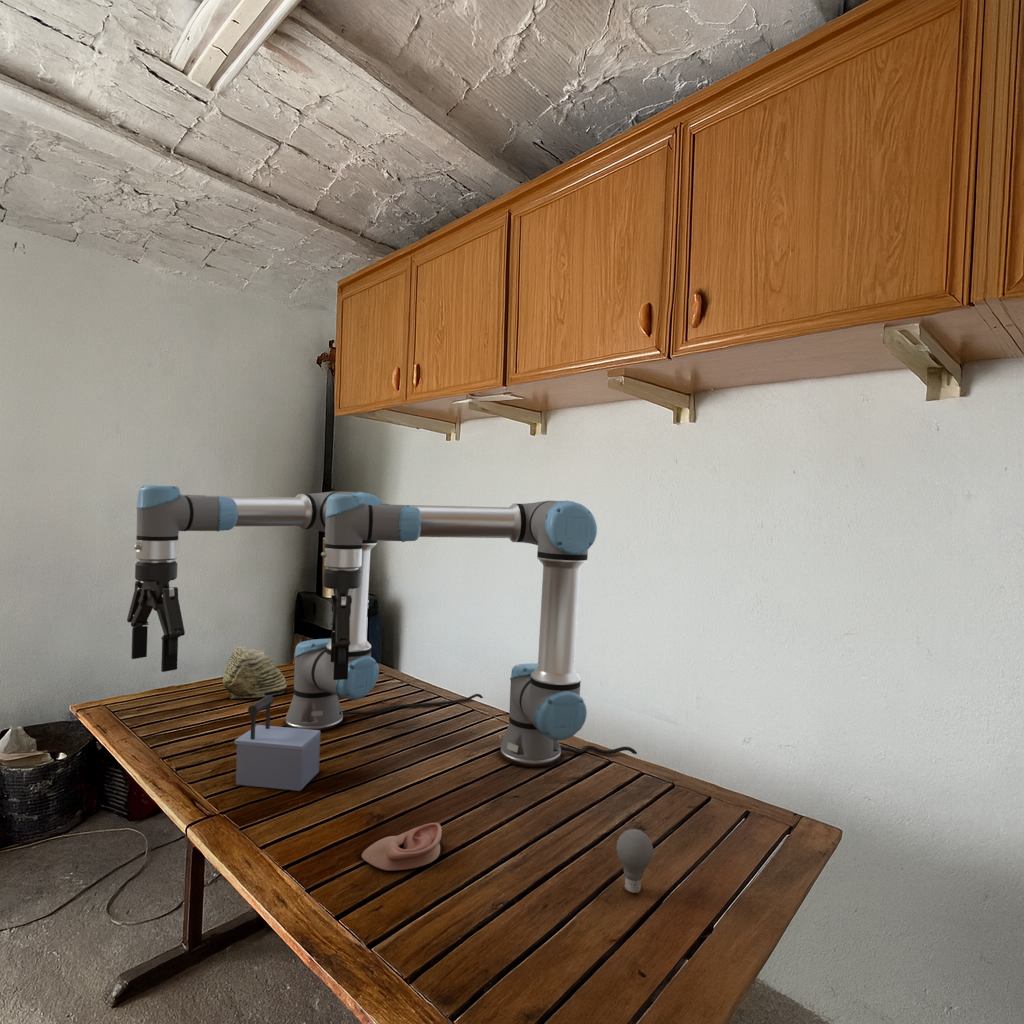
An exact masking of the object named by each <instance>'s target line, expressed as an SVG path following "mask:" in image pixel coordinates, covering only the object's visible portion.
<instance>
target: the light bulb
mask: <svg viewBox="0 0 1024 1024" xmlns="http://www.w3.org/2000/svg"><path fill="white" fill-rule="evenodd" d="M615 849H616V854H617V857H618V859H619V861H620V863H621V865H622V867H623V873H624V874H623V875H624V876H625V878H624V888H625V890H627V891H628V892H630V893H634V894H635V893H639V892H640V891H641V889H642V887H641V886H642V879H643V877H644V875H645V871H646V868H647V867H648V866H649V864H650V863H651V861H652V859H653V855H654V847H653V843H652V841H651V838H649V836H648V835H647V834H646V833H645V832H643V831H642V830H641V829H636V828H629V829H627V830H625V831H623V832H622V833H621V834H620V835H619V837H618V839H617V841H616V847H615Z"/></svg>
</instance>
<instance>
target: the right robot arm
mask: <svg viewBox="0 0 1024 1024" xmlns="http://www.w3.org/2000/svg"><path fill="white" fill-rule="evenodd" d="M597 535H598V526H597V520H596V519H595V516H594V514H593V512H592V511H590V509H589V508H588V507H586V506H585V505H584V504H581V503H579V502H576V501H572V500H544V501H543V500H542V501H537V502H527V503H526V502H525V503H512V504H511V505H510V506H507V507H506V506H505V507H504V506H465V505H463V506H460V505H426V504H425V505H421V504H420V505H419V504H389V503H383V504H380V505H368V504H365V502H364V498H363V496H361V495H343V494H332V495H330V496H329V497H328V499H327V507H326V519H325V532H324V551H322V552H321V553H320V556H321V557H323V558H324V559H323V560H324V561H323V562H324V563H323V565H324V567H326V568H325V569H324V570H323V577H322V578H323V581H322V585H323V587H324V588H325V589H329V590H333V591H332V592H333V594H332V595H331V597H330V603H331V612H332V614H331V615H332V616H331V623H330V625H331V637H330V639H331V662H334V676H333V680H345V679H348V658H349V645H350V614H351V604H352V597H351V595H348V590H349V589H355V588H358V587H360V585H361V571H360V570H359V569H358V568H359V567H361V566H362V540H377V541H382V542H386V541H387V542H401V543H405V542H416V541H418V539H419V538H457V539H458V538H461V539H463V538H469V539H471V538H472V539H509V541H511V542H512V543H523V544H531V545H535V546H537V555H536V557H537V560H539V562H540V563H541V564H542V583H541V584H542V585H541V599H540V601H541V602H540V617H539V618H540V619H539V620H540V622H539V637H538V638H539V639H538V656H537V657H538V658H537V663H536V662H535V663H533V662H531V663H519V664H515V665H514V666H513V667H512V668H511V675H510V678H509V679H510V689H509V712H508V713H509V715H508V725H507V728H506V730H505V733H504V736H503V738H502V741H501V745H500V752H499V753H500V757H501V758H502V759H503V760H504V761H506V762H508V763H509V764H511V765H515V766H519V767H525V768H544V767H549V766H552V765H555V764H557V763H558V762H559V761H560V760H561V758H562V751H565V752H570V753H573V754H577V755H579V754H583V753H584V752H586V751H587V750H589V751H591V750H592V751H594V752H596V753H599V754H602V755H612V754H613V755H614V754H616V753H620V752H624V751H628V752H630V753H631V754H633V755H637V754H638V752H637V751H636V750H635V749H634V748H633V747H630V746H619V747H617V748H613V749H601V748H599V747H596V746H594V745H584V746H583V747H582V748H581V749H575V748H573V747H568V746H563V745H560V741H564V740H568V739H570V738H573V736H575V735H576V734H577V733H578V732H580V731H581V729H582V728H583V726H584V724H585V722H586V719H587V715H588V710H587V705H586V703H585V700H584V699H583V697H581V682H582V681H581V676H580V675H579V674H578V673H577V672H576V653H577V652H576V651H577V650H576V649H577V633H578V616H579V615H578V613H579V598H580V582H581V581H580V580H581V568H582V567H583V565H585V564H586V563H587V562H588V556H589V550H590V548H591V547H592V546H593V545H594V543H595V541H596V538H597ZM333 631H334V632H333Z"/></svg>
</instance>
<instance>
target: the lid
mask: <svg viewBox="0 0 1024 1024" xmlns="http://www.w3.org/2000/svg"><path fill="white" fill-rule="evenodd" d="M274 702H275V698H274V696H273V695H272V696H271V695H268V696H265V697H262V698H261V699H259V700H258V701H256V702H254V703H253V704H250V705H249V707H248V708H247V713H248V714H249V715H250V730H248V731H246V732H245V733H243V734H242V735H240V736H239V737H237V738H236V739H234V745H249V746H260V747H271V748H282V749H292V750H303V749H304V748H305V747H306V746H307V745H308V744H309V743H311V742H312V741H313V740H314V739H315V738H316V737H318V736H319V735H320V736H321V731H320V730H309V729H298V728H288V727H287V726H276V725H275V726H274V725H271V705H272V704H274ZM265 709H266V710H265ZM263 710H265V725H264V724H263V725H262V724H257V725H256V722H257V721H256V717H257V714H259V713H260V712H262V711H263Z"/></svg>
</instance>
